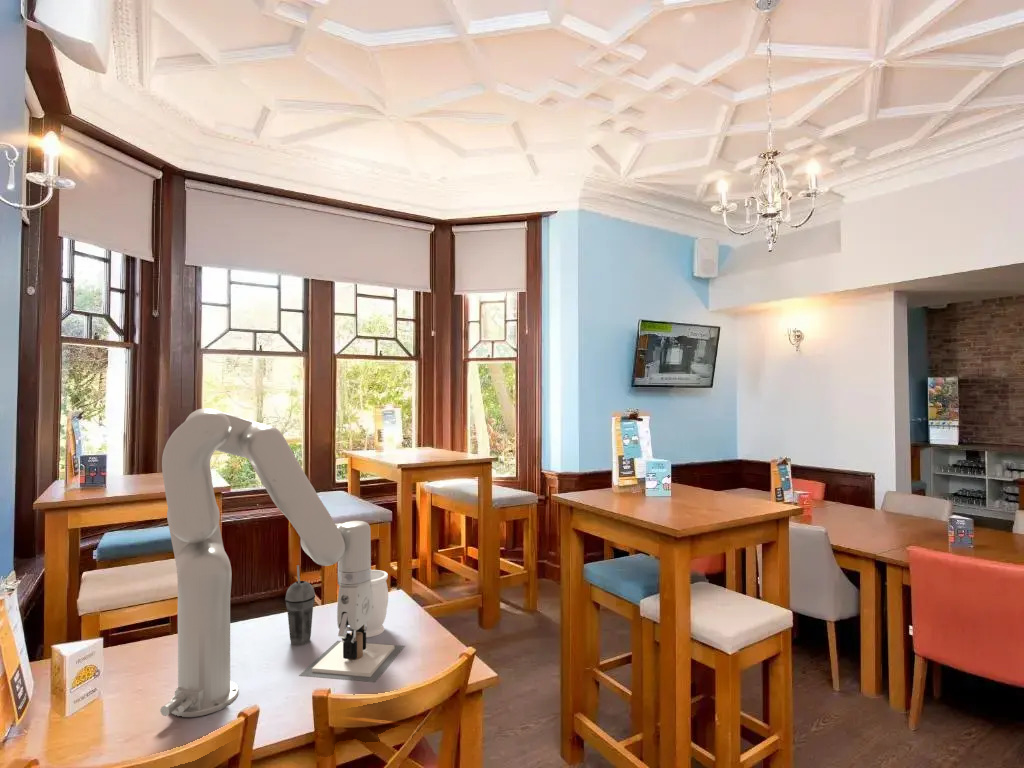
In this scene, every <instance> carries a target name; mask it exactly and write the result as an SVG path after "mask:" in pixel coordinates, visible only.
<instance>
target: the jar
mask: <svg viewBox="0 0 1024 768" xmlns="http://www.w3.org/2000/svg"><path fill="white" fill-rule="evenodd" d="M388 578H389V575H388V572H386V571H385V570H379V569H371V584H372V593H373V616H372V617H371V618H370V619H369V620H368V621H367V623H366V624H367V630H366V638H370V637H371V638H372V637H375V636H378V635H382V633H384V631H385V626H384V623H385V620H386V617H387V608H388V604H389V588H388V583H387V580H388ZM350 633H352V631H350Z"/></svg>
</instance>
